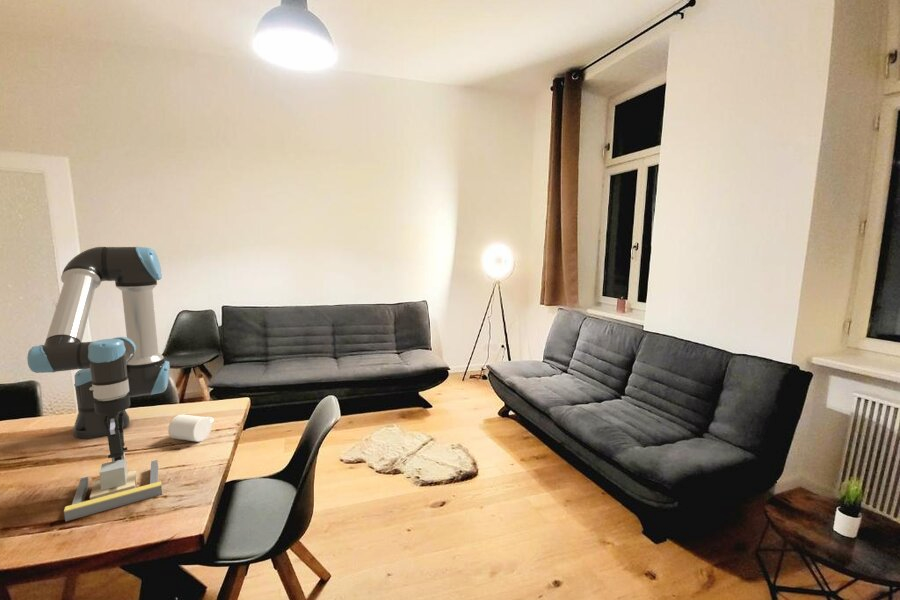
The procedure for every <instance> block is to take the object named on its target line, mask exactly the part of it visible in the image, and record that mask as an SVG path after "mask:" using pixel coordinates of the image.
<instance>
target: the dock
mask: <svg viewBox="0 0 900 600" xmlns="http://www.w3.org/2000/svg"><path fill="white" fill-rule="evenodd" d="M158 464H159V462H158V459H156V460H152V461H151V462H150V474H149V475H150V478H149V484H144V485H142V486H138V487H137V486H136V488H133V489H130V490H126V491H122V492H118V493H114V494H111V495H107V496H103V497H99V498H96V499H92V500H90V499H89V500H86V498H87V497H86V496H87V493H88V491H89V487H90V480H89V476H85V477H81V478H80V480H79V483H78V486H77V487H76V492H75V495H74V497H73V500H72V503H71V504H70V505H67V506H64V510H63V514H64V520H65V522H70V521H72V520H75V519H80V518H83V517H86V516H89V515H90V516H91V515H93V514H98V513H100V512H105V511H108V510H111V509H115V508H118V507H119V508H120V507H123V506H126V505H129V504H132V503H136V502H140V501H144V500H146V499H147V500H148V499H151V498H154V497H157V496H158V497H159V496H162V495H163V488H162V486H163V485H162V480H160V481H159V465H158Z"/></svg>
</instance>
